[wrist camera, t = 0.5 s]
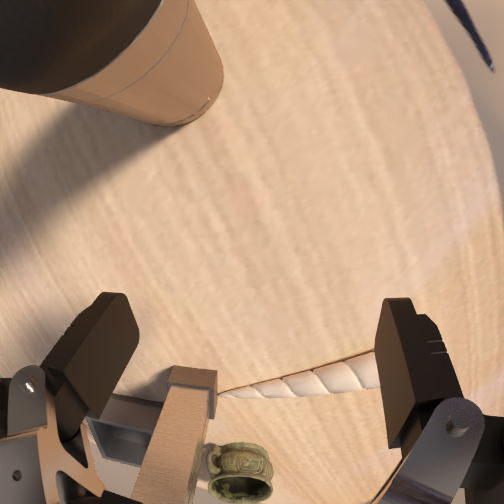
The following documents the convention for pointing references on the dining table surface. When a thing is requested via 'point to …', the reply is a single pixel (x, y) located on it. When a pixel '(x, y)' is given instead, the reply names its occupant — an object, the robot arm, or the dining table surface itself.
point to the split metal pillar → (178, 439)
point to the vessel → (240, 473)
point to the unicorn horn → (317, 381)
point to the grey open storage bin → (125, 428)
